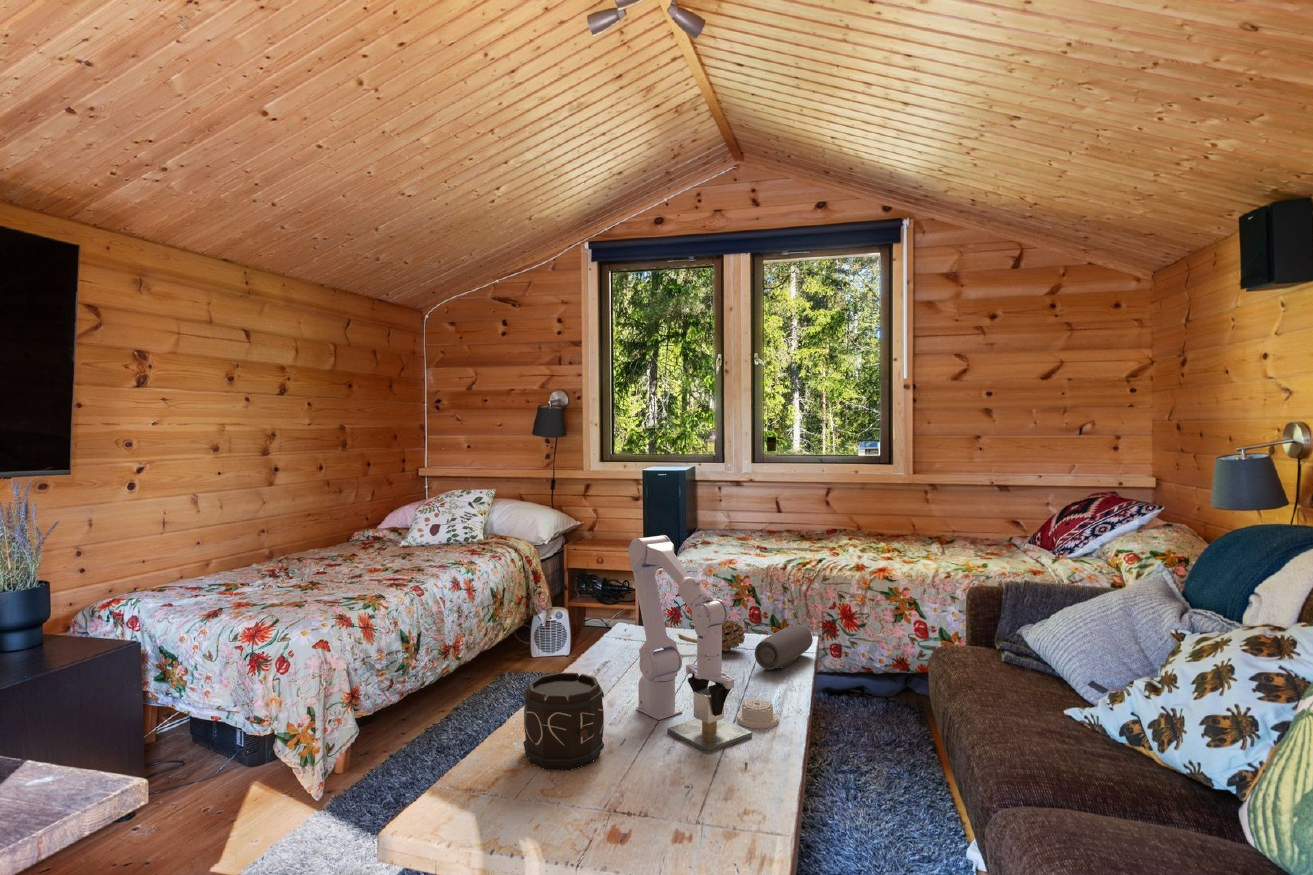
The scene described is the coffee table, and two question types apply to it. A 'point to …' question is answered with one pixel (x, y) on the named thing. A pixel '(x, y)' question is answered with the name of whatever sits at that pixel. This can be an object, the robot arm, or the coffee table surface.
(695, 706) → the collar
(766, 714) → the mechanical component
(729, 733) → the post plate
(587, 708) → the wooden barrel
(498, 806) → the coffee table surface
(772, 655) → the bluetooth speaker
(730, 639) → the pine cone
